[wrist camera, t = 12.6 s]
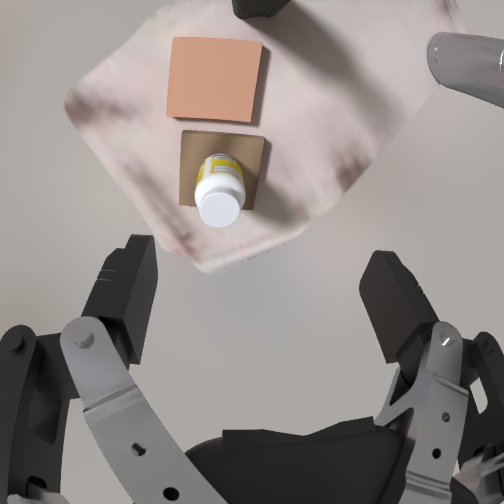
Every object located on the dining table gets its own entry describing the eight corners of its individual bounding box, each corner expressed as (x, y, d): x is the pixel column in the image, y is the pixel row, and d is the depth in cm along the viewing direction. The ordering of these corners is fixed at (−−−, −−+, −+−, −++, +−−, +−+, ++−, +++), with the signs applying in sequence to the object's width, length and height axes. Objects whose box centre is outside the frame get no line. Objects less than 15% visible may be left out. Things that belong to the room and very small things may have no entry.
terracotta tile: (261, 43, 27) (262, 43, 25) (249, 119, 33) (250, 122, 31) (175, 38, 25) (173, 37, 24) (168, 114, 31) (166, 116, 30)
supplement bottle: (212, 198, 37) (209, 242, 30) (191, 165, 34) (180, 201, 27) (249, 180, 36) (256, 219, 28) (229, 145, 33) (230, 175, 25)
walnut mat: (263, 136, 34) (264, 139, 33) (252, 204, 40) (253, 210, 39) (183, 130, 33) (181, 133, 31) (180, 199, 39) (179, 205, 37)
